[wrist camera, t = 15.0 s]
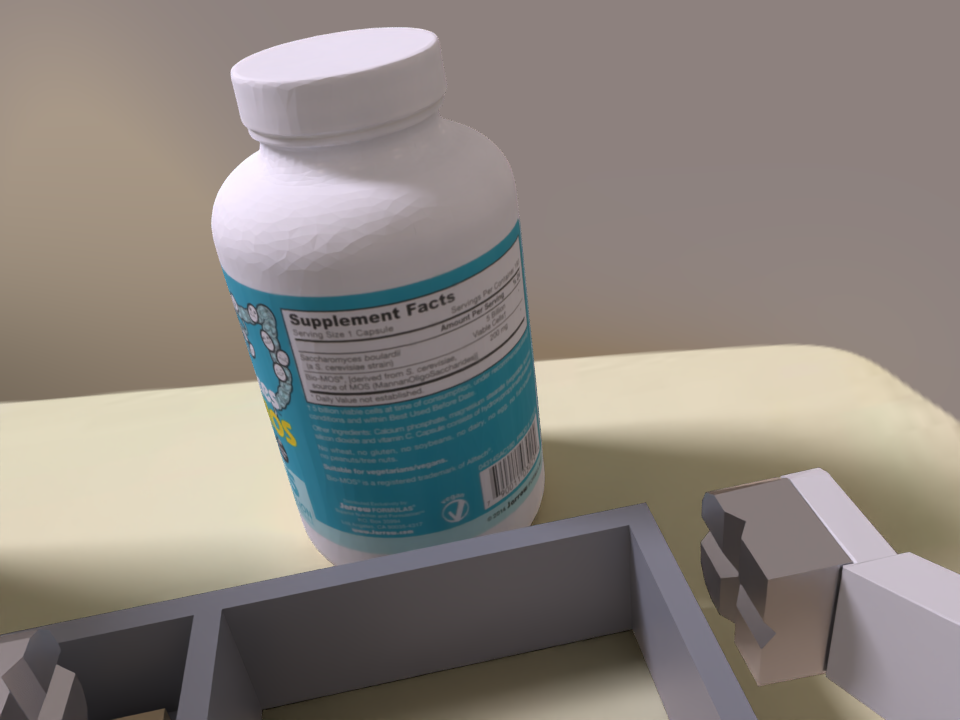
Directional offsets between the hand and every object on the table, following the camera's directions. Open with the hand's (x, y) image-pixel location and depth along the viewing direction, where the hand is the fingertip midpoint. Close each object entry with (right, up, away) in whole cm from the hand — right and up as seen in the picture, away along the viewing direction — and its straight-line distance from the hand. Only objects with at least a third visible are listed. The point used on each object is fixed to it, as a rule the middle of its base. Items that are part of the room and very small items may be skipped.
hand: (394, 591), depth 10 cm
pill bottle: (-1, -2, +15) cm, 15 cm away
